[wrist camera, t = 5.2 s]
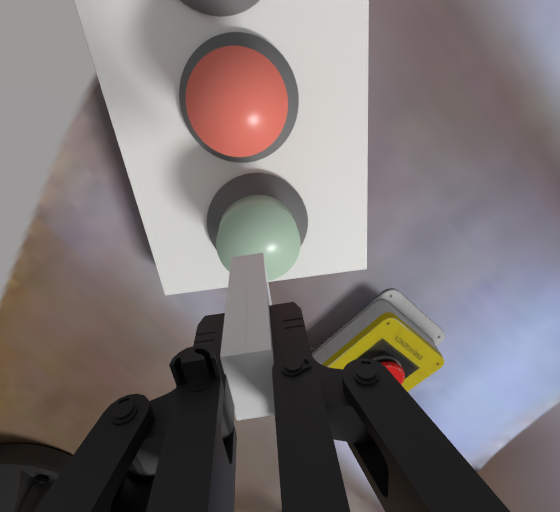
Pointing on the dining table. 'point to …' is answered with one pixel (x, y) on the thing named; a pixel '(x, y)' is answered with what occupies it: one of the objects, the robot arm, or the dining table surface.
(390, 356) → the emergency button
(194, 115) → the red button
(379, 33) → the dining table surface
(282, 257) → the sage-green button
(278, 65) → the button panel
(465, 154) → the dining table surface
